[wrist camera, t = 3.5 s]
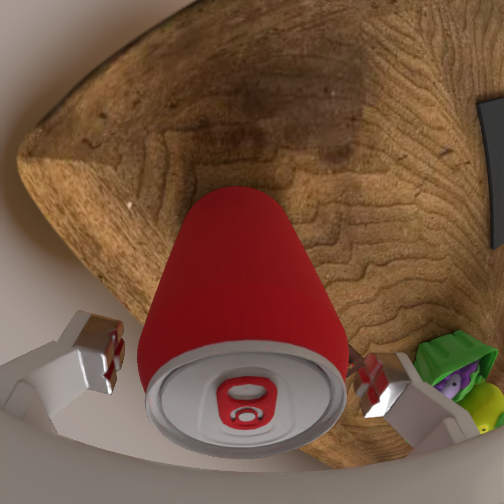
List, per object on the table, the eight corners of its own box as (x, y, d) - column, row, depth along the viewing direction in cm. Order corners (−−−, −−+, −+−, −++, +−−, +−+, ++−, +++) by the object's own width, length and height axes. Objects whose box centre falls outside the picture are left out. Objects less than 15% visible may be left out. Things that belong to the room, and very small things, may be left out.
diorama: (357, 365, 23) (365, 383, 21) (322, 387, 24) (327, 406, 22) (340, 349, 22) (348, 368, 20) (303, 374, 23) (308, 393, 21)
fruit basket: (408, 336, 22) (470, 440, 12) (480, 311, 22) (546, 388, 12) (388, 409, 27) (422, 492, 17) (451, 385, 27) (491, 455, 17)
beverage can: (186, 282, 19) (152, 461, 8) (179, 183, 16) (88, 325, 5) (286, 280, 19) (336, 456, 8) (293, 183, 16) (398, 318, 6)
